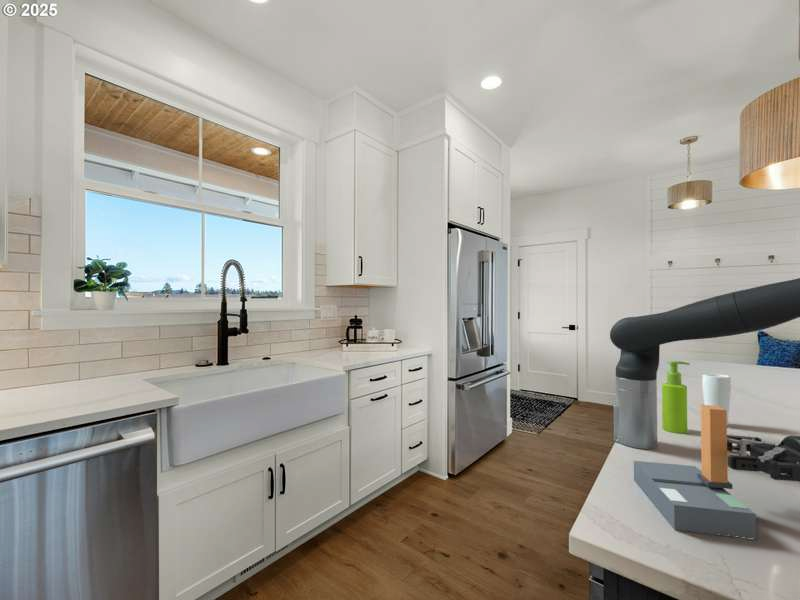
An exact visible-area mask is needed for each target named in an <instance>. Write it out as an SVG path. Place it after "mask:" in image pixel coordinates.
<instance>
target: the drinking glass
mask: <svg viewBox="0 0 800 600" xmlns="http://www.w3.org/2000/svg"><path fill="white" fill-rule="evenodd" d="M731 382H732V381H731V376H730V375H728V374H727V375H726V374H720V373H702V377H701V386H702V387H701V388H702V397H703V405H714V406H719V407H721V408H723V409H725V410H727V427H728V426H729V412H730V403H731V391H732V383H731Z"/></svg>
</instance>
